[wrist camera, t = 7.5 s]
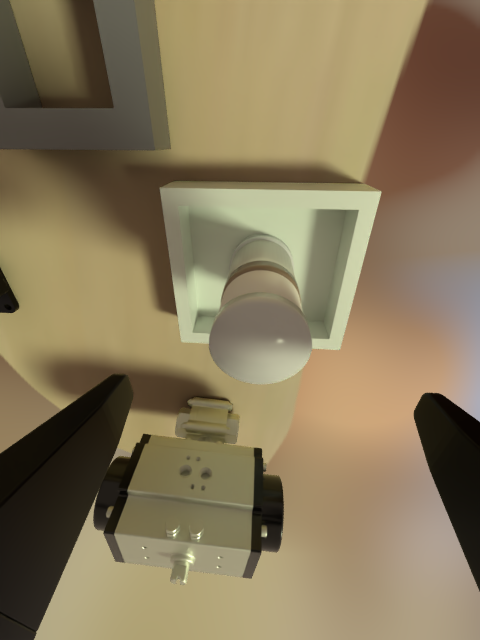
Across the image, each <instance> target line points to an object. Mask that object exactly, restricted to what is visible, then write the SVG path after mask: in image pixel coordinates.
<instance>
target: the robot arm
mask: <svg viewBox="0 0 480 640" xmlns="http://www.w3.org/2000/svg"><path fill="white" fill-rule="evenodd" d="M18 309H19V304H18V302H17V300H16V298H15V296H14V294H13V292H12V290H11V288H10V286H9V284H8V282H7V280H6V278H5V276H4V274H3V272H2V270H1V268H0V313H14V312H15V311H17V310H18ZM132 400H133V390H132V387H131V383H130V380H129V377H128V376H127V375H126V374H113V375H111V376H110V377H108V378H107V379H105V380H104V381H102V382H101V383H100V384H98V385H97V386H95V387H94V388H93V389H91V390H90V391H88V392H87V393H85V394H84V395H83V396H81V397H80V398H78V399H77V400H76V401H74V402H73V403H71V404H70V405H68V406H67V407H66V408H64V409H63V410H61V411H60V412H59V413H57V414H56V415H54V416H53V417H51V418H50V419H49V420H47V421H46V422H44V423H43V424H41V425H40V426H39V427H37V428H36V429H34V430H33V431H32V432H30V433H29V434H28V435H26V436H24V437H23V438H22V439H20V440H19V441H18V442H16V443H15V444H13V445H12V446H10V447H9V448H8V449H6V450H5V451H3V452H2V453H0V640H34V638H35V636H36V631H37V630H38V628H39V626H40V623H41V621H42V619H43V617H44V615H45V612H46V610H47V608H48V605H49V603H50V601H51V598H52V596H53V594H54V592H55V589H56V587H57V585H58V582H59V580H60V578H61V575H62V573H63V571H64V569H65V566H66V564H67V562H68V559H69V557H70V555H71V553H72V550H73V548H74V545H75V543H76V541H77V538H78V536H79V534H80V532H81V530H82V527H83V525H84V523H85V520H86V518H87V516H88V513H89V511H90V509H91V506H92V504H93V502H94V500H95V497H96V495H97V493H98V491H99V488H100V486H101V484H102V481H103V479H104V477H105V474H106V472H107V470H108V468H109V465H110V463H111V461H112V458H113V456H114V454H115V451H116V449H117V446H118V444H119V441H120V438H121V435H122V432H123V428H124V425H125V422H126V419H127V416H128V413H129V409H130V406H131V403H132ZM414 420H415V423H416V426H417V430H418V433H419V436H420V440H421V443H422V446H423V450H424V453H425V457H426V460H427V463H428V466H429V469H430V472H431V474H432V477H433V479H434V482H435V484H436V487H437V489H438V491H439V494H440V496H441V499H442V501H443V504H444V506H445V509H446V511H447V513H448V516H449V518H450V521H451V523H452V526H453V528H454V530H455V533H456V535H457V538H458V540H459V542H460V545H461V547H462V550H463V552H464V555H465V557H466V559H467V562H468V564H469V567H470V569H471V572H472V574H473V576H474V579H475V581H476V584H477V586H478V588H479V591H480V422H479V421H478V420H476V419H475V418H474V417H472V416H471V415H469V414H468V413H467V412H465V411H464V410H462V409H461V408H460V407H458V406H457V405H456V404H454V403H453V402H451V401H450V400H449V399H447V398H446V397H445V396H443V395H441V394H439V393H425V394H423V395H422V397H421V399H420V401H419V402H418V404H417V406H416V408H415V410H414Z"/></svg>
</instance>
